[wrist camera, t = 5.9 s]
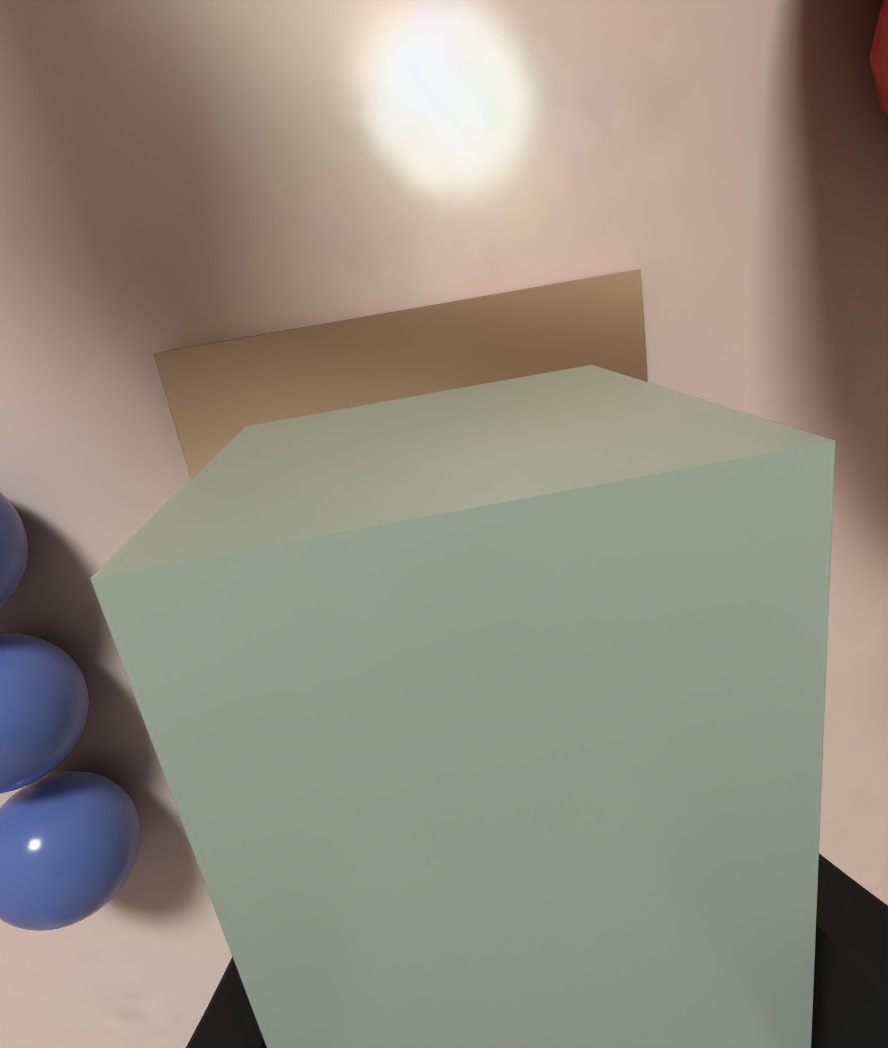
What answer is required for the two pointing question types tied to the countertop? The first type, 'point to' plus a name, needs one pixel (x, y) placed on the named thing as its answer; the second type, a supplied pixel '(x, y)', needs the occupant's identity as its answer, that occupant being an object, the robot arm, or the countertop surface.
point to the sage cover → (499, 714)
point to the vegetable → (881, 57)
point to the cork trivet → (400, 357)
